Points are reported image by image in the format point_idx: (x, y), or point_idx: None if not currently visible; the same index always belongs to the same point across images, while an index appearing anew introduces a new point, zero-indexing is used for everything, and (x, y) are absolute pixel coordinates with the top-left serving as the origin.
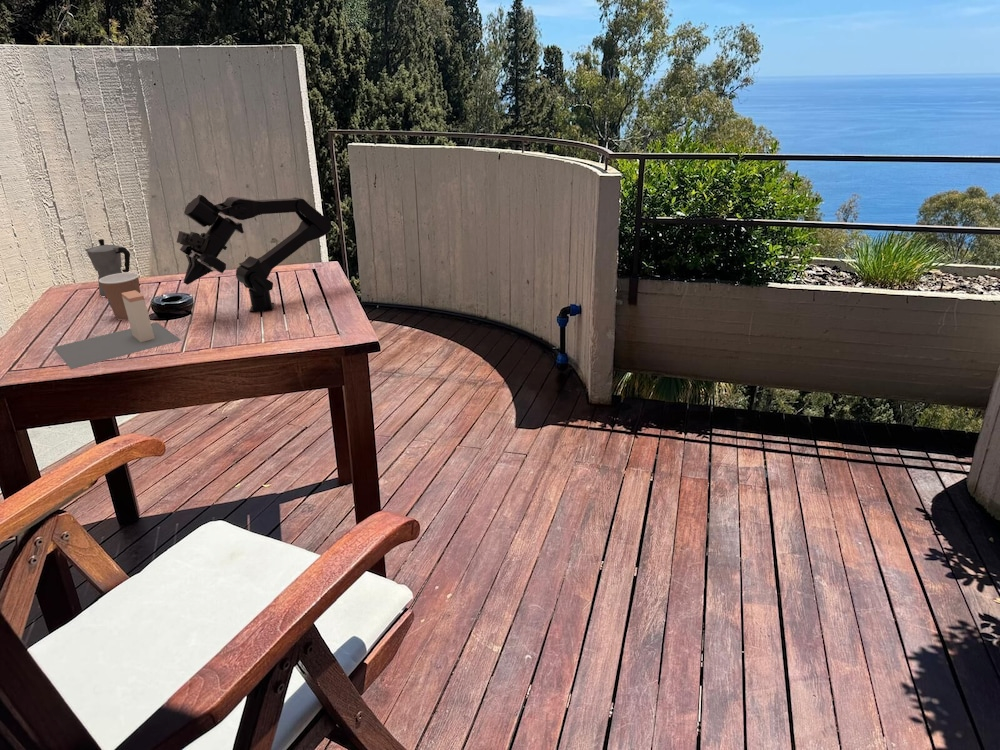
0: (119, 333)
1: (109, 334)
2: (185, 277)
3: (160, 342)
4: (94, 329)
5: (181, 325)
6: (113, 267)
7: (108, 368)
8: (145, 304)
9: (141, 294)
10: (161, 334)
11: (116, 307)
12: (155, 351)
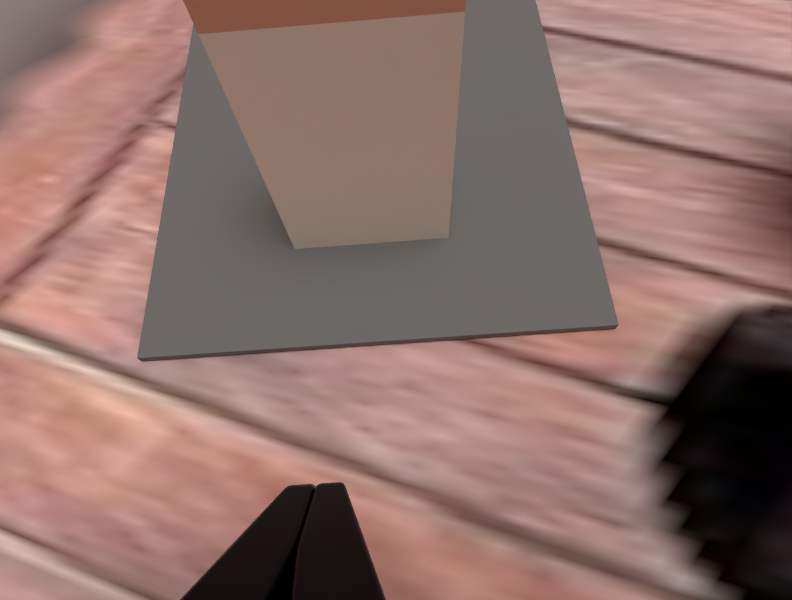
0: (529, 134)
1: (546, 99)
2: (315, 540)
3: (203, 258)
4: (709, 68)
5: (462, 447)
6: None
7: (105, 56)
8: (217, 75)
9: None
10: (337, 292)
11: None
12: (123, 221)
